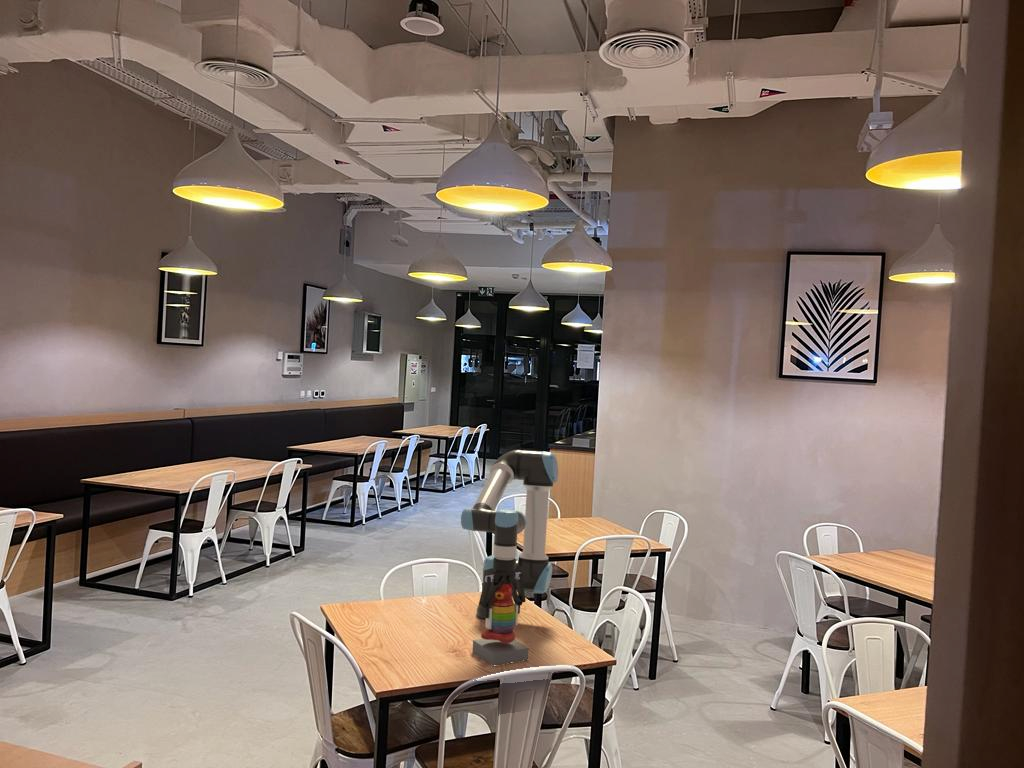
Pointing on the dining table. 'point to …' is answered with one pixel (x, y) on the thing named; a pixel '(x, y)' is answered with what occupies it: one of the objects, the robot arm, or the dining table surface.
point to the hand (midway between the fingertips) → (501, 625)
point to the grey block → (500, 651)
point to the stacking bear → (502, 616)
